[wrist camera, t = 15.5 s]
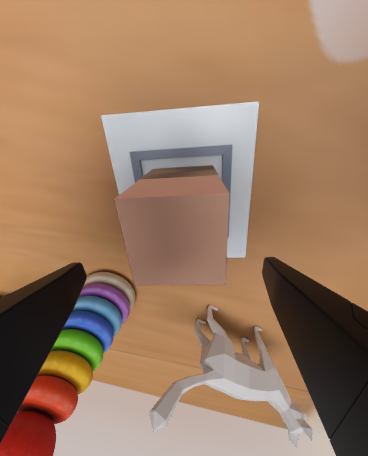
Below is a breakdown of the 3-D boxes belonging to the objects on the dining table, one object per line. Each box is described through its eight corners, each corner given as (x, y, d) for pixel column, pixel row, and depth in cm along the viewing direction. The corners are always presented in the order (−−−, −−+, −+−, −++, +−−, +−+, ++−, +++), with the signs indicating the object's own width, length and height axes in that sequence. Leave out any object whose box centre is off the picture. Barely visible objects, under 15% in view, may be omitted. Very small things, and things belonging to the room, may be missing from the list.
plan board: (255, 103, 17) (261, 100, 15) (243, 252, 24) (246, 260, 22) (105, 116, 18) (97, 114, 16) (135, 255, 25) (132, 263, 23)
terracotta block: (218, 175, 14) (229, 193, 9) (217, 244, 17) (225, 284, 12) (139, 179, 14) (114, 198, 10) (150, 246, 17) (134, 285, 12)
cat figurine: (266, 350, 32) (312, 488, 20) (162, 306, 29) (136, 438, 16) (284, 336, 30) (347, 478, 18) (175, 287, 27) (158, 420, 14)
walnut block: (212, 165, 18) (218, 174, 14) (212, 220, 21) (217, 243, 17) (152, 168, 19) (139, 178, 14) (159, 223, 21) (150, 245, 17)
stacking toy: (97, 259, 25) (-92, 497, 9) (146, 287, 27) (70, 530, 10) (75, 292, 28) (-98, 517, 12) (121, 316, 30) (29, 540, 13)
